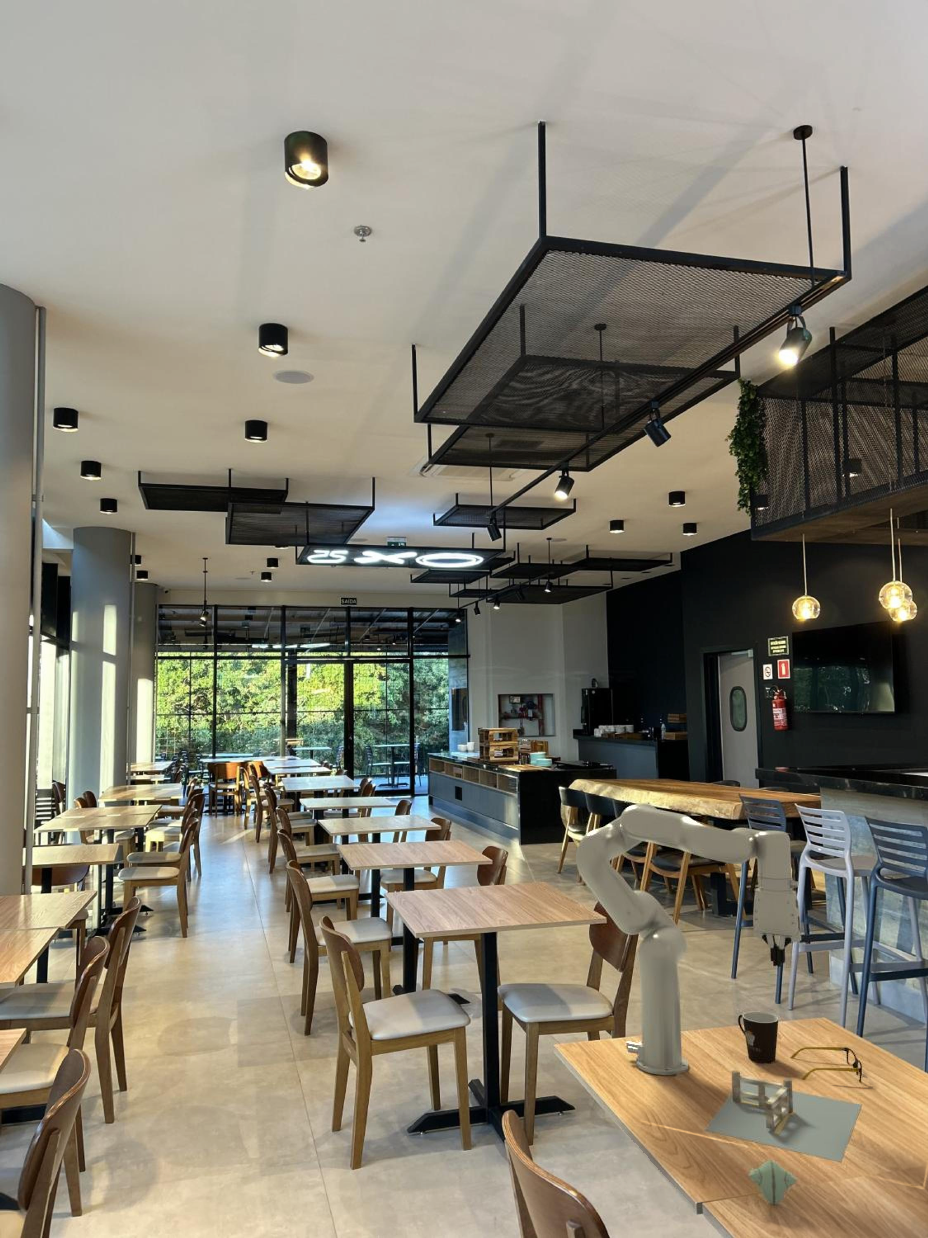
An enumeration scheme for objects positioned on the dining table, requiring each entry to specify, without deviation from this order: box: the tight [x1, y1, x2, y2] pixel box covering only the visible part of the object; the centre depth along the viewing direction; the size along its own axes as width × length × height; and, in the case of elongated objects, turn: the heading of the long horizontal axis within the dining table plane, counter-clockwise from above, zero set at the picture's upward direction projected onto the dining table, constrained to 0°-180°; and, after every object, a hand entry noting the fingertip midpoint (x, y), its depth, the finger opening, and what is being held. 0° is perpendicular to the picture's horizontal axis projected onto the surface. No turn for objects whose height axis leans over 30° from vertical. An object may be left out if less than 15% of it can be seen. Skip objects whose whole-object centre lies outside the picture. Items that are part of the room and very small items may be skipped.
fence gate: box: [765, 1085, 790, 1129], centre depth 186 cm, size 11×1×5 cm, turn 142°
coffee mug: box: [737, 1011, 779, 1065], centre depth 224 cm, size 12×9×10 cm
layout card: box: [704, 1082, 863, 1163], centre depth 188 cm, size 26×30×1 cm
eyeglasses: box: [790, 1046, 863, 1082], centre depth 215 cm, size 14×14×4 cm
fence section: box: [731, 1070, 793, 1113], centre depth 194 cm, size 13×2×6 cm, turn 59°
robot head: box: [748, 1159, 798, 1205], centre depth 155 cm, size 8×4×7 cm, turn 78°
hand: (778, 965), depth 208 cm, fingers closed
